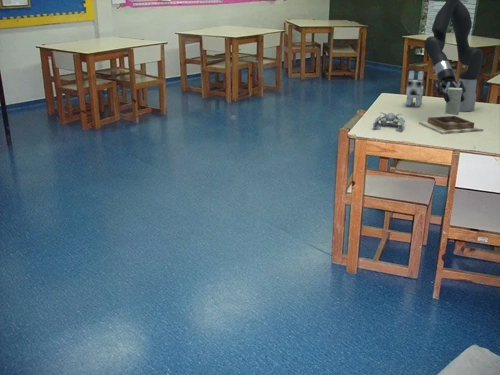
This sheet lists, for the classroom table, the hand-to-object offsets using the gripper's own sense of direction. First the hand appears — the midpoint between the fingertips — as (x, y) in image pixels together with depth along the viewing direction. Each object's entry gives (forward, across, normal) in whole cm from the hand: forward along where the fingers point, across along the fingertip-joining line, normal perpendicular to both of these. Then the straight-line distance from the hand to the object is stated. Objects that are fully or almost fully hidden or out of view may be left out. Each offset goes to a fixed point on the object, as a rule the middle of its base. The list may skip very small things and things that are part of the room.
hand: (455, 101), depth 248 cm
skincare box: (+4, 0, +6) cm, 7 cm away
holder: (+8, 0, +10) cm, 13 cm away
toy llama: (-26, +10, +45) cm, 53 cm away
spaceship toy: (+3, -28, +17) cm, 33 cm away
